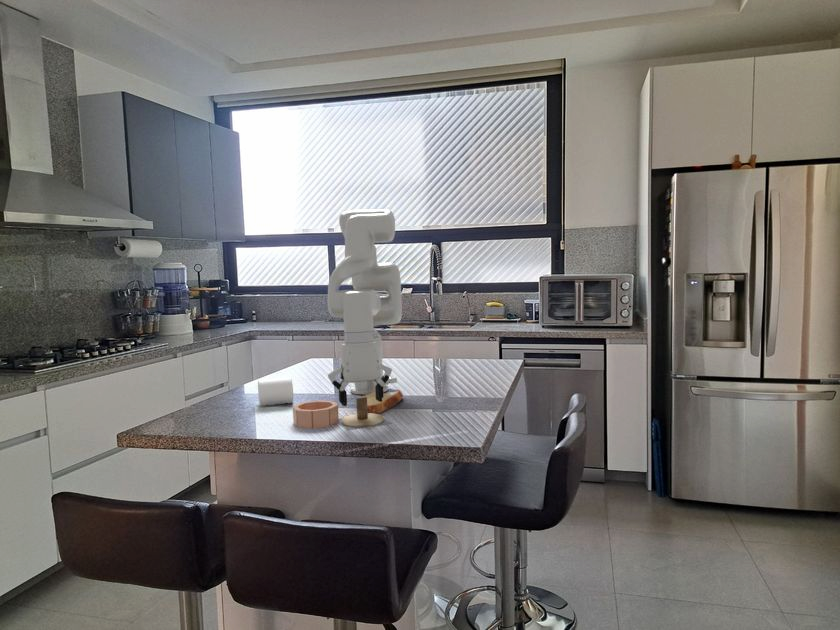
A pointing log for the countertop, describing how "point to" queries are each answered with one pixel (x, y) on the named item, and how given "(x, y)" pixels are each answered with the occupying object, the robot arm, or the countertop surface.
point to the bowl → (315, 414)
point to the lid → (362, 416)
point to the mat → (363, 427)
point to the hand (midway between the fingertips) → (361, 402)
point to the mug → (275, 391)
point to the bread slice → (386, 403)
